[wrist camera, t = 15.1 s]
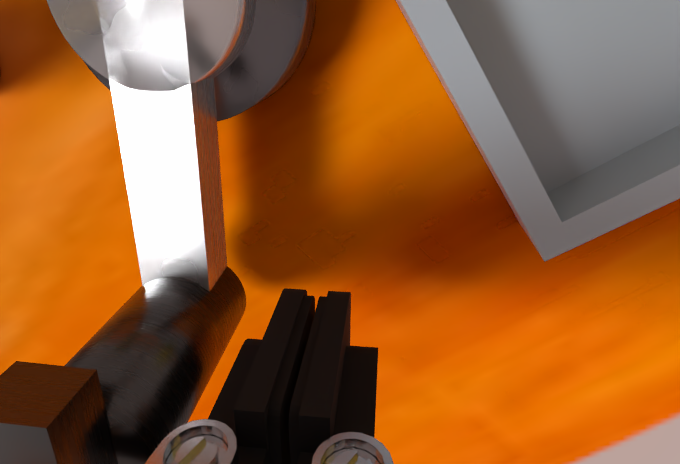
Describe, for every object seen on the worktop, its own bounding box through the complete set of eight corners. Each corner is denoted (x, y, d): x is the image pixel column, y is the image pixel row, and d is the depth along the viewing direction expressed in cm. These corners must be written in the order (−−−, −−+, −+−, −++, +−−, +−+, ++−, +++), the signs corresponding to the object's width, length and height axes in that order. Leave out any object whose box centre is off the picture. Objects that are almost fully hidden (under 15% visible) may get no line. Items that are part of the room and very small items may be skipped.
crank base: (186, -259, 10) (24, -487, 6) (359, 32, 12) (340, 34, 8) (-93, 47, 14) (-330, 57, 9) (78, 234, 16) (-48, 316, 11)
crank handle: (66, -118, 10) (-536, -388, 3) (252, -114, 9) (-33, -404, 3) (145, 348, 15) (-39, 587, 8) (268, 361, 14) (171, 618, 8)
